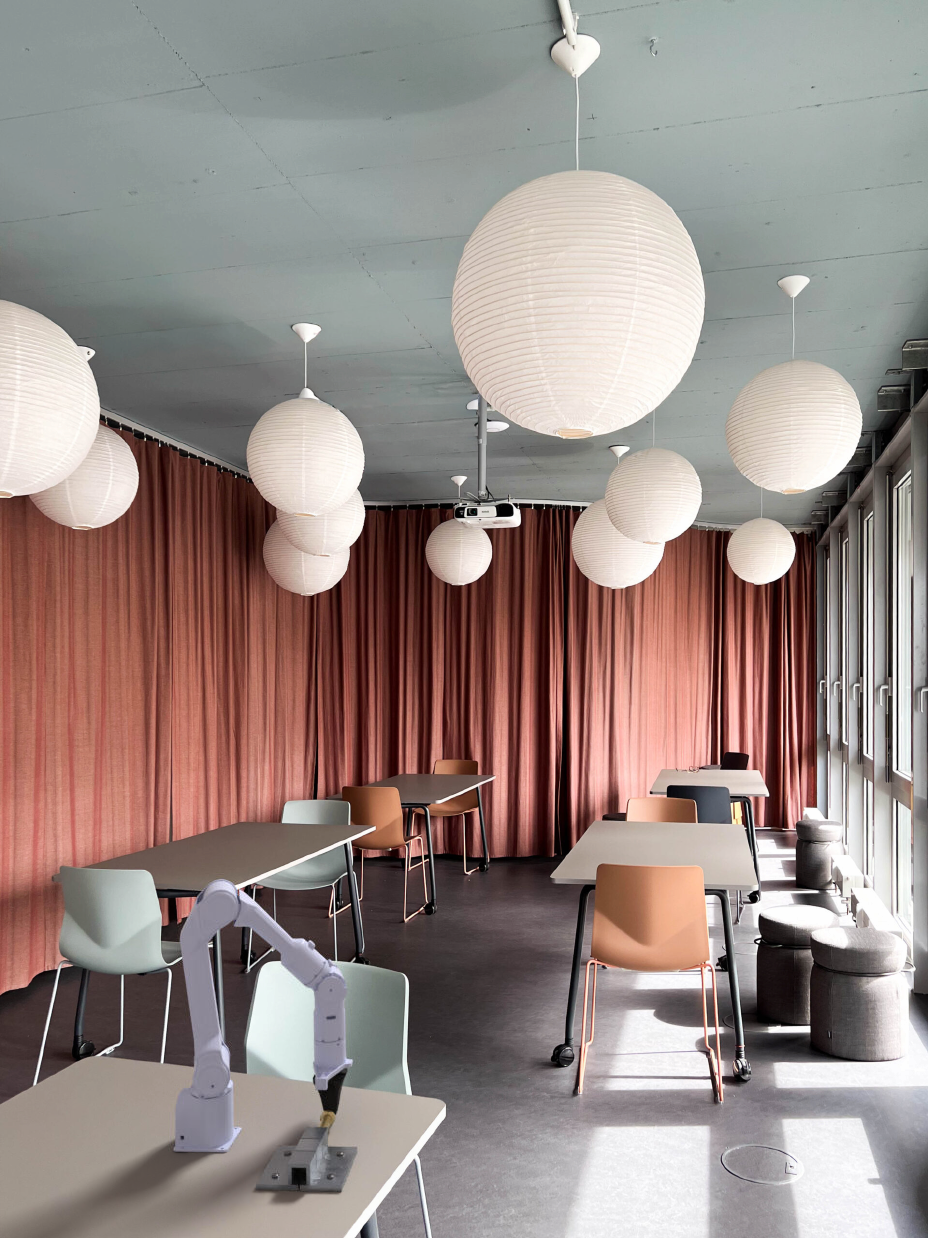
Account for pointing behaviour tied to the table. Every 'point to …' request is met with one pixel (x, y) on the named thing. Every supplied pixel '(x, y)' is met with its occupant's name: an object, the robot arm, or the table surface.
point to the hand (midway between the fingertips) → (331, 1114)
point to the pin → (327, 1119)
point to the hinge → (308, 1164)
